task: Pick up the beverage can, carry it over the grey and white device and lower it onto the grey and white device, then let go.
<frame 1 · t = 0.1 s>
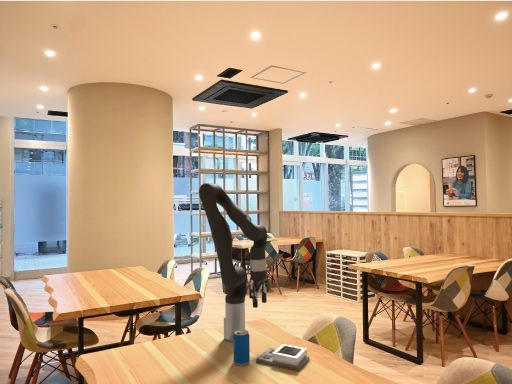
hand: (259, 305, 169), 17 cm above the table, tool pointing down, fingers open, 8 cm apart
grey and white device: (283, 360, 150), on the table
beverage can: (241, 363, 149), on the table
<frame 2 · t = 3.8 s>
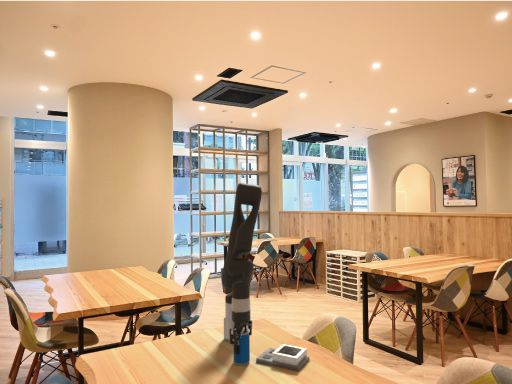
hand: (241, 350, 149), 5 cm above the table, tool pointing down, fingers closed on beverage can, 6 cm apart
beverage can: (241, 362, 149), on the table, touching gripper
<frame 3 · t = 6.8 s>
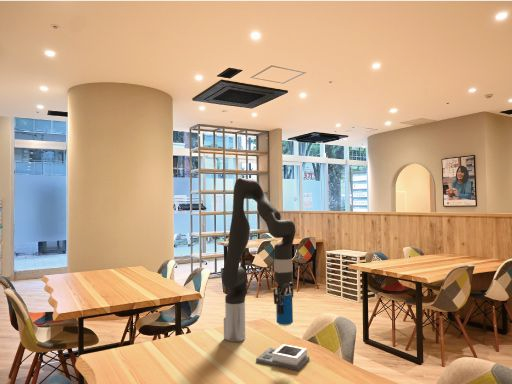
hand: (284, 311, 149), 20 cm above the table, tool pointing down, fingers closed on beverage can, 6 cm apart
beverage can: (284, 324, 149), point 15 cm above the table, touching gripper
when the fingers open (7 cm above the table, at t = 9.9 s): beverage can stays where it is, resting on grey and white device.
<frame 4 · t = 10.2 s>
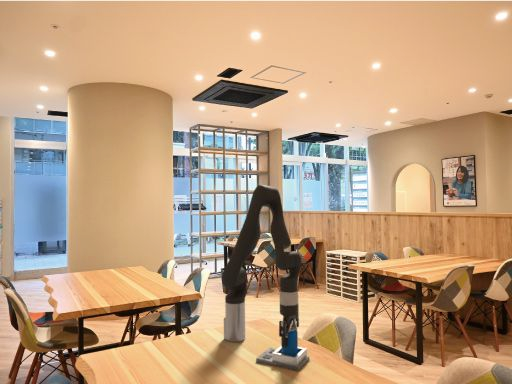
hand: (289, 342, 149), 8 cm above the table, tool pointing down, fingers open, 8 cm apart
beverage can: (289, 358, 149), point 1 cm above the table, touching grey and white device
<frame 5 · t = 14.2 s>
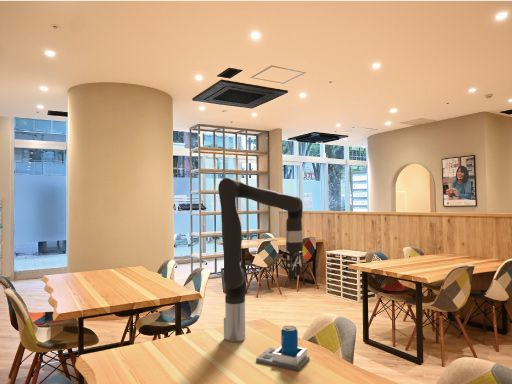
hand: (294, 276, 168), 30 cm above the table, tool pointing down, fingers open, 8 cm apart
nothing on the table moved.
at the end: beverage can 0.0 cm from the target spot on the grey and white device, point 1.3 cm above the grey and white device's base; beverage can tilted 0°; the gripper is holding nothing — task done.
